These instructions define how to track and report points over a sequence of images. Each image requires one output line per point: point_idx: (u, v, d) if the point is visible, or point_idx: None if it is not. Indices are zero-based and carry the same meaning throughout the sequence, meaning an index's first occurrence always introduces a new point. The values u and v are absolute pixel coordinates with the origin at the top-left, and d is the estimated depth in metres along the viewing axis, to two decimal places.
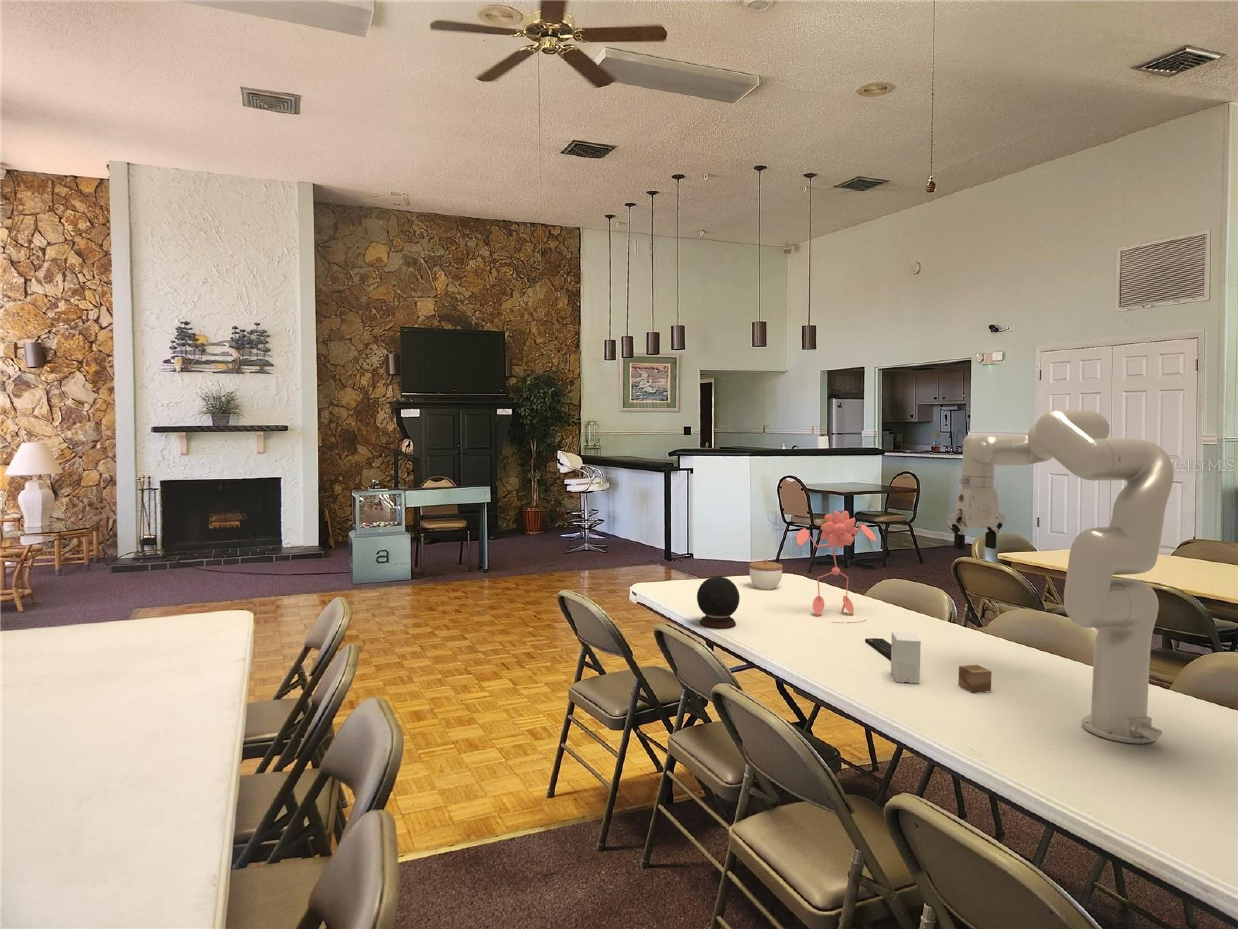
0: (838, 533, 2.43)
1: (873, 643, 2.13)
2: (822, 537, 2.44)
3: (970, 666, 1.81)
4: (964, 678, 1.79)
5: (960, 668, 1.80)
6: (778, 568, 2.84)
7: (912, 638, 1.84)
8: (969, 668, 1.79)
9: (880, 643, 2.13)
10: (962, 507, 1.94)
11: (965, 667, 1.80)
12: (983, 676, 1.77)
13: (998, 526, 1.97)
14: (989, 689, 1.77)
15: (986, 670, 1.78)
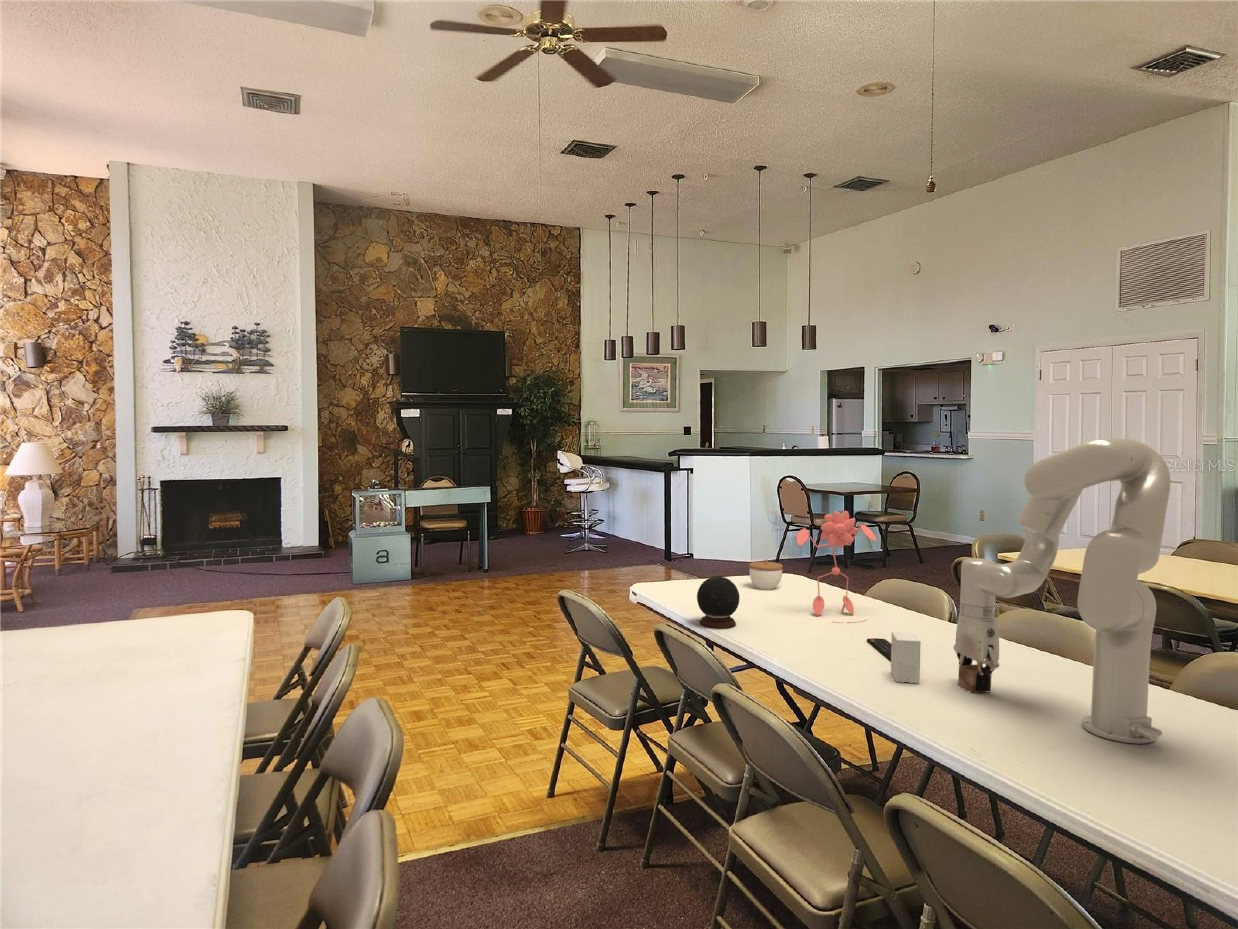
0: (838, 533, 2.43)
1: (874, 643, 2.13)
2: (822, 537, 2.44)
3: (970, 666, 1.81)
4: (964, 678, 1.79)
5: (960, 668, 1.80)
6: (778, 568, 2.84)
7: (912, 638, 1.84)
8: (969, 667, 1.79)
9: (881, 643, 2.13)
10: (993, 642, 1.74)
11: (965, 667, 1.80)
12: None
13: None
14: (989, 689, 1.77)
15: None
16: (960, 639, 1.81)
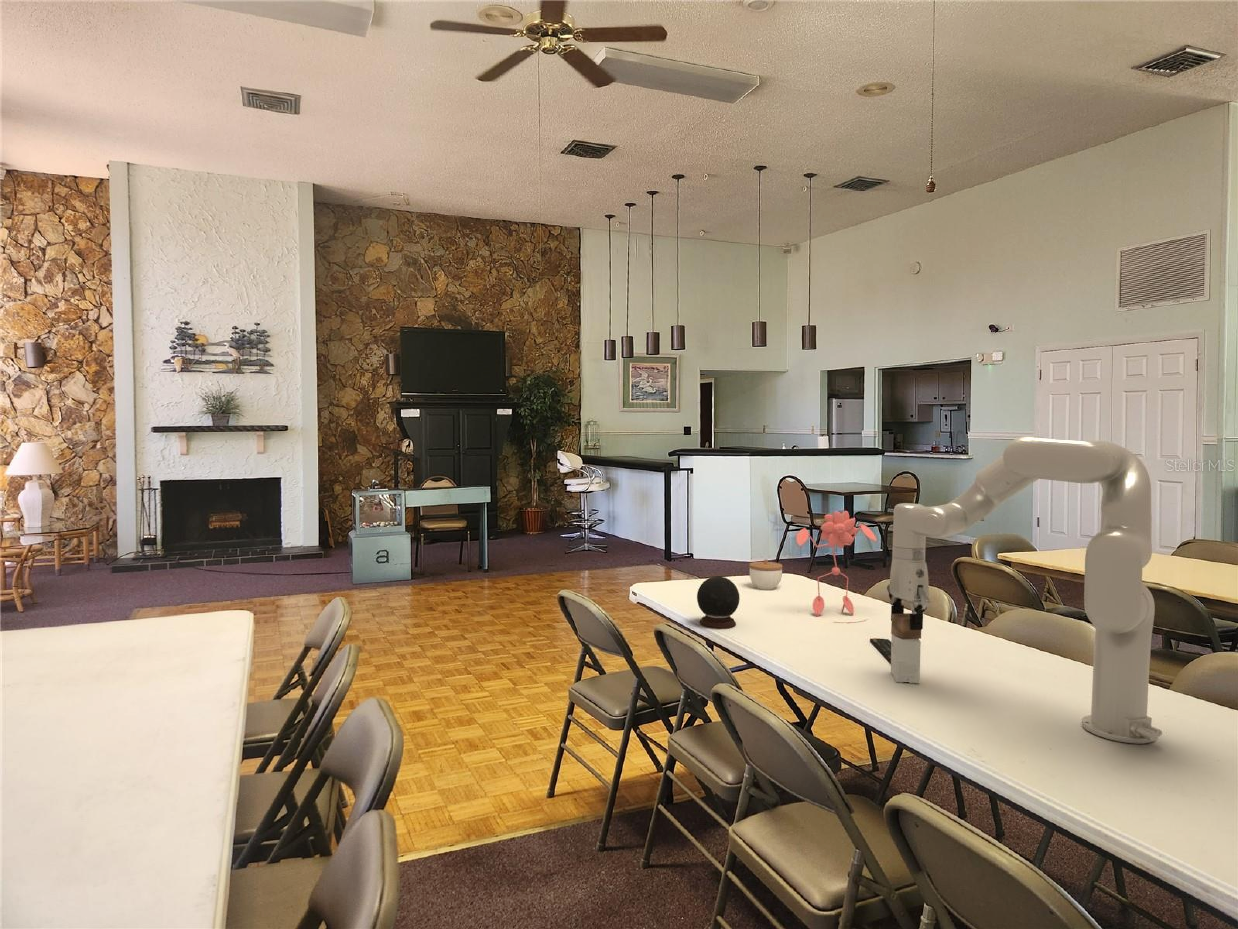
0: (838, 533, 2.44)
1: (876, 643, 2.14)
2: (822, 537, 2.44)
3: (902, 614, 1.87)
4: (896, 625, 1.86)
5: (893, 616, 1.87)
6: (778, 568, 2.84)
7: None
8: (901, 615, 1.86)
9: (883, 643, 2.13)
10: (923, 583, 1.80)
11: (897, 615, 1.86)
12: None
13: None
14: (919, 635, 1.84)
15: None
16: (893, 581, 1.87)
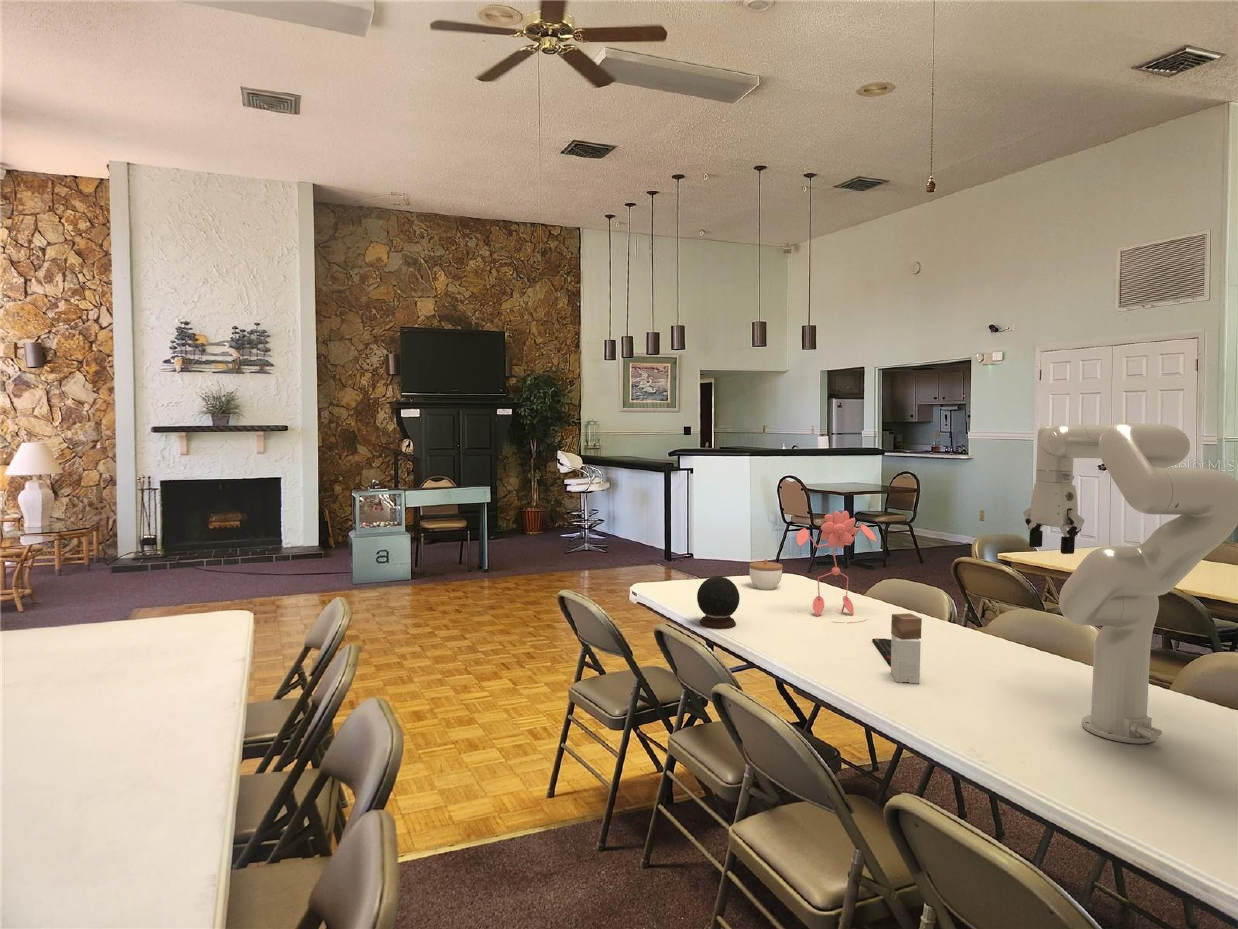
0: (838, 533, 2.43)
1: (877, 643, 2.14)
2: (822, 537, 2.44)
3: (902, 614, 1.87)
4: (896, 625, 1.86)
5: (893, 616, 1.87)
6: (778, 568, 2.84)
7: None
8: (901, 615, 1.86)
9: (884, 644, 2.13)
10: (1072, 506, 1.73)
11: (897, 615, 1.86)
12: (913, 623, 1.83)
13: None
14: (919, 635, 1.84)
15: (917, 617, 1.84)
16: (1036, 507, 1.80)
